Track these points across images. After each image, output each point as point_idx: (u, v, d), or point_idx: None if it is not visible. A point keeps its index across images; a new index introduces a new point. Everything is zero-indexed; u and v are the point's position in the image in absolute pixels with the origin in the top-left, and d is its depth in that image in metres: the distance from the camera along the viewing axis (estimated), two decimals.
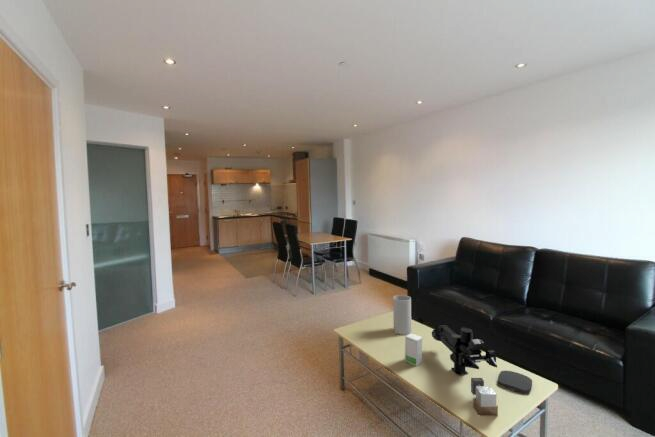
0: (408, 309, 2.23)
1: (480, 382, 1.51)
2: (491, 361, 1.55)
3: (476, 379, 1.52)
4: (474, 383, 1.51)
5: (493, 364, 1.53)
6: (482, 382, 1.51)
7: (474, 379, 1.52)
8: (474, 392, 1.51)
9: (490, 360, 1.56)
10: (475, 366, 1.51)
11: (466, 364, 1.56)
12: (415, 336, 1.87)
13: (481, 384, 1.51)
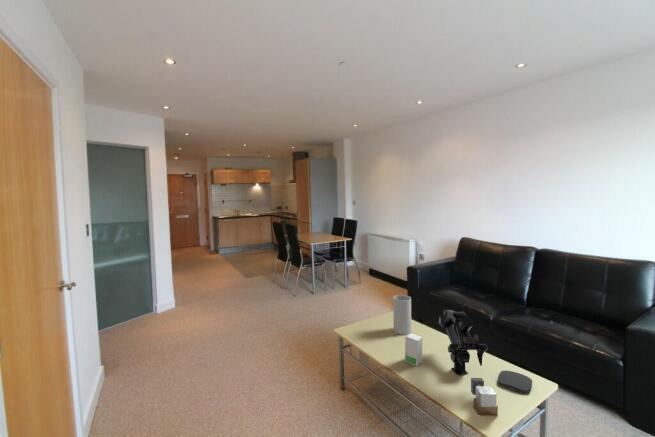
0: (408, 309, 2.23)
1: (480, 382, 1.51)
2: (479, 356, 1.61)
3: (476, 379, 1.52)
4: (474, 383, 1.51)
5: (479, 360, 1.60)
6: (482, 382, 1.51)
7: (474, 379, 1.52)
8: (474, 392, 1.51)
9: (478, 354, 1.62)
10: (460, 362, 1.60)
11: (453, 353, 1.64)
12: (415, 336, 1.87)
13: (481, 384, 1.51)
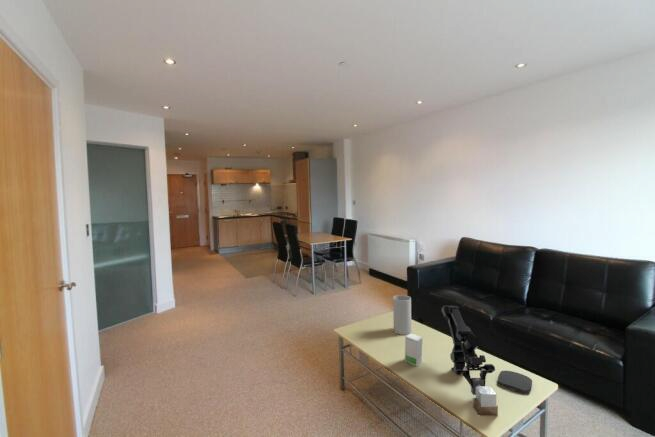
0: (408, 309, 2.23)
1: (480, 382, 1.51)
2: (482, 377, 1.54)
3: (476, 379, 1.52)
4: (474, 383, 1.51)
5: None
6: (482, 382, 1.51)
7: (474, 379, 1.52)
8: (474, 392, 1.51)
9: (481, 375, 1.54)
10: (470, 384, 1.52)
11: (463, 374, 1.57)
12: (415, 336, 1.87)
13: (481, 384, 1.51)
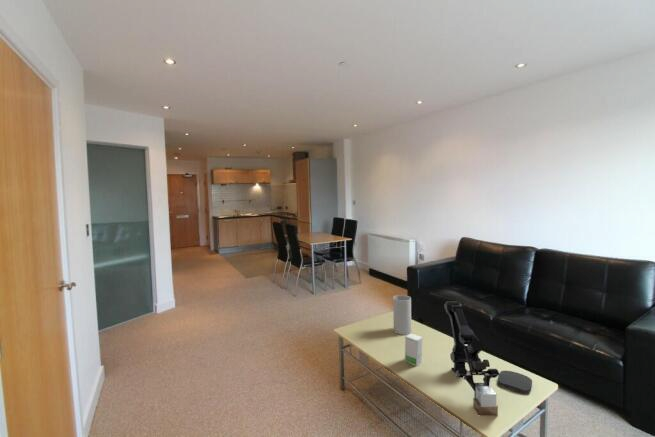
0: (408, 309, 2.23)
1: None
2: (485, 382, 1.50)
3: (480, 384, 1.48)
4: None
5: None
6: None
7: (477, 384, 1.48)
8: None
9: (485, 380, 1.50)
10: (473, 389, 1.48)
11: (466, 378, 1.53)
12: (415, 336, 1.87)
13: None
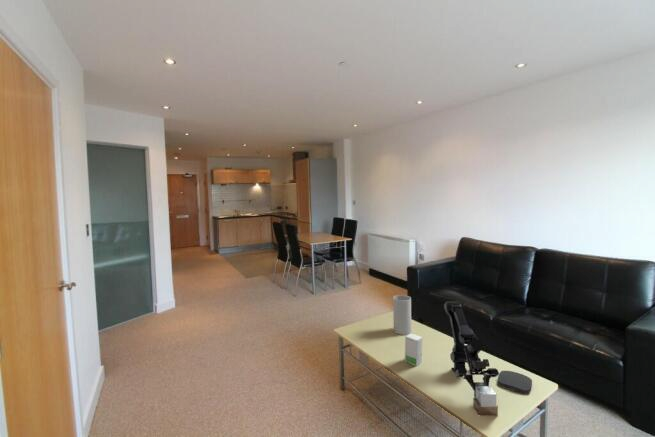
0: (408, 309, 2.23)
1: None
2: (485, 382, 1.50)
3: (480, 384, 1.48)
4: None
5: None
6: None
7: (477, 384, 1.48)
8: None
9: (485, 380, 1.51)
10: (473, 388, 1.49)
11: (466, 378, 1.53)
12: (415, 336, 1.87)
13: None
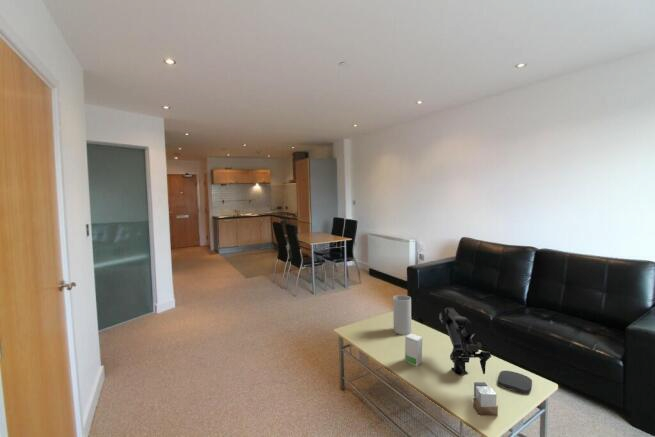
0: (408, 309, 2.23)
1: None
2: (482, 364, 1.58)
3: (480, 384, 1.48)
4: None
5: (482, 368, 1.57)
6: None
7: (477, 384, 1.48)
8: None
9: (481, 362, 1.59)
10: (463, 370, 1.57)
11: (456, 361, 1.61)
12: (415, 336, 1.87)
13: None
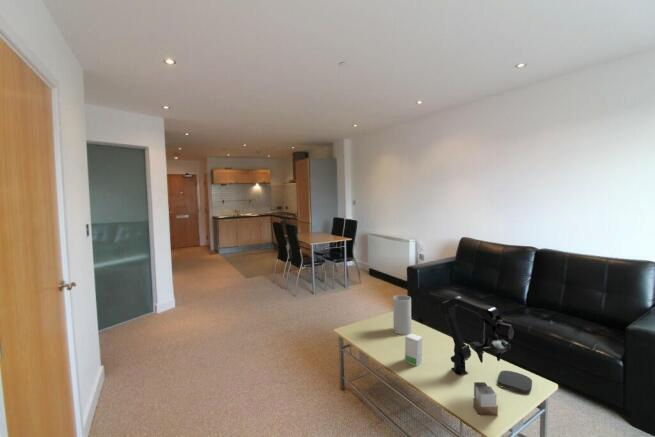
0: (408, 309, 2.23)
1: None
2: (498, 352, 1.62)
3: (480, 384, 1.48)
4: None
5: (497, 356, 1.62)
6: None
7: (477, 384, 1.48)
8: None
9: None
10: (480, 359, 1.61)
11: None
12: (415, 336, 1.87)
13: None
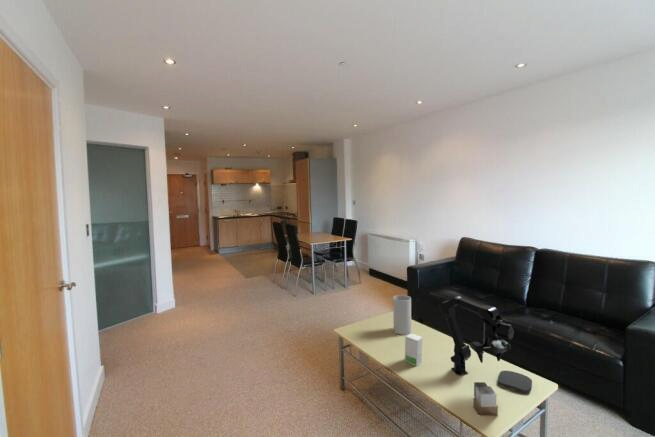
0: (408, 309, 2.23)
1: None
2: (498, 352, 1.62)
3: (480, 384, 1.48)
4: None
5: (497, 356, 1.62)
6: None
7: (477, 384, 1.48)
8: None
9: None
10: (480, 359, 1.61)
11: None
12: (415, 336, 1.87)
13: None
